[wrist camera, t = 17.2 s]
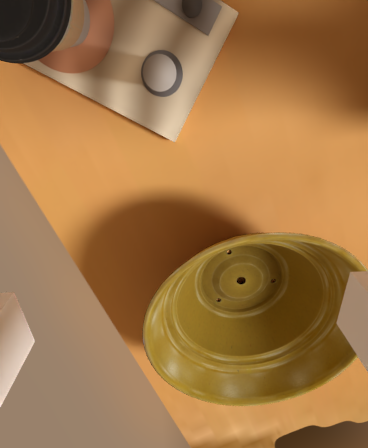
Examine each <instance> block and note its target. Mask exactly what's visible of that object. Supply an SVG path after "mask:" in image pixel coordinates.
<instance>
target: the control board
mask: <svg viewBox="0 0 368 448" xmlns="http://www.w3.org/2000/svg"><path fill="white" fill-rule="evenodd" d="M85 1H86V3H87V6H88V9H89V14H90V28H89V32H88V35H87V37H86V39H85V40H84V41H83V42H82V43H81V44H79V45H77V46H74V47H69V48H67V49H64V50H60V51H53V52H51V53H49V54H48V55H47V56H45V57H43V58H41V59H39V60H36V61H34V62H29V63H23V64H25V65H27V66H29V67H31V68H33V69H35V70H37V71H39V72H41V73H43V74H44V75H46V76H48V77H50V78H52V79H54V80H56V81H58V82H60V83H62V84H64V85H66V86H68V87H69V88H71V89H73V90H75V91H77V92H79V93H81V94H83V95H85V96H87V97H89V98H91V99H92V100H94V101H96V102H98V103H100V104H102V105H104V106H106V107H108V108H110V109H112V110H114V111H116V112H117V113H119V114H121V115H123V116H125V117H127V118H129V119H131V120H133V121H135V122H137V123H139V124H140V125H142V126H144V127H146V128H148V129H150V130H152V131H154V132H156V133H158V134H160V135H162V136H164V137H165V138H167V139H169V140H171V141H173V142H175V141H176V139H177V137H178V135H179V133H180V131H181V129H182V127H183V125H184V123H185V121H186V119H187V117H188V115H189V113H190V111H191V109H192V107H193V105H194V103H195V101H196V99H197V97H198V95H199V93H200V91H201V89H202V87H203V85H204V83H205V81H206V79H207V77H208V74H209V72H210V70H211V68H212V66H213V64H214V62H215V60H216V58H217V56H218V54H219V52H220V50H221V48H222V46H223V44H224V42H225V40H226V38H227V36H228V34H229V32H230V30H231V28H232V26H233V24H234V22H235V20H236V18H237V16H238V14H239V13H238V12H237V11H236V10H234V9H233V8H231V7H230V6H228V5H227V4H225V3H224V2H223V1H221V0H85Z"/></svg>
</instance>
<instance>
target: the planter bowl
mask: <svg viewBox="0 0 368 448" xmlns="http://www.w3.org/2000/svg"><path fill="white" fill-rule="evenodd" d="M227 250H231V251H232V253H231V254H227V253H226V252H227ZM361 271H368V270H367V268H366V267H365V266H364V265H363V264H362V263H361V262H360V261H359V260H358V259H357V258H356V257H355V256H354V255H352V254H351V253H350V252H348V251H347V250H345V249H344V248H342V247H340V246H338V245H336V244H334V243H332V242H329V241H327V240H324V239H321V238H318V237H313V236H309V235H304V234H295V233H254V234H247V235H241V236H236V237H233V238H230V239H227V240H224V241H221V242H218V243H216V244H214V245H212V246H210V247H208V248H206V249H204V250H202V251H201V252H199V253H198V254H196V255H195V256H193V257H192V258H191V259H190V260H188V261H187V262H185V263H184V264H182V265H181V266H180V267H179V268H177V269H176V270H175V271H174V272H173V273H172V274H171V275H170V276H169V277H168V278H167V279H166V280H165V281H164V282H163V283H162V284H161V286H160V287H159V289H158V290H157V291H156V293H155V295H154V296H153V298H152V300H151V302H150V304H149V306H148V308H147V311H146V314H145V318H144V323H143V344H144V348H145V352H146V354H147V357H148V359H149V361H150V363H151V365H152V366H153V368H154V369H155V371H156V372H157V373H158V374H159V375H160V376H161V377H162V378H163V379H164V380H165V381H166V382H167V383H168V384H170V385H171V386H172V387H174V388H175V389H177V390H179V391H180V392H182V393H184V394H186V395H189V396H191V397H193V398H196V399H199V400H202V401H206V402H210V403H215V404H220V405H229V406H256V405H265V404H271V403H276V402H281V401H285V400H288V399H292V398H295V397H297V396H300V395H303V394H305V393H308V392H310V391H312V390H315V389H317V388H319V387H320V386H322V385H324V384H326V383H327V382H329V381H331V380H332V379H334V378H335V377H337V376H338V375H339V374H341V373H342V372H343V371H344V370H345V369H347V368H348V367H349V366H350V365H351V364H352V363H353V362H354V361H355V360H356V359H357V358H358V356H357V354H356V353H355V351H354V350H353V348H352V347H351V345H350V344H349V342H348V340H347V339H346V337H345V336H344V334H343V333H342V331H341V330H340V328H339V327H338V325H337V319H338V315H339V312H340V308H341V304H342V300H343V297H344V293H345V289H346V286H347V282H348V278H349V275H350V272H361ZM239 277H244V278H245V280H246V282H245V283H244V284H238V283H237V279H238V278H239ZM272 279H275V280H276V281H275V282H274V283H272V282H271V280H272ZM217 298H220V299H221V301H220V302H217V301H216V299H217Z"/></svg>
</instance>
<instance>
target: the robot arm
mask: <svg viewBox="0 0 368 448" xmlns="http://www.w3.org/2000/svg"><path fill="white" fill-rule="evenodd" d="M337 325H338V327H339V328H340V330H341V331H342V333H343V334H344V336H345V337H346V339H347V340H348V342H349V344H350V345H351V347H352V348H353V350H354V351H355V353H356V354H357V356H358V357H359V359H360V361H361V362H362V364H363V365H364V367H365V368H366V370H367V371H368V271H361V272H350V275H349V278H348V282H347V286H346V289H345V293H344V297H343V300H342V304H341V308H340V312H339V315H338V319H337ZM34 342H35V340H34V337H33V335H32V333H31V330H30V328H29V326H28V323H27V321H26V319H25V316H24V314H23V312H22V309H21V307H20V305H19V302H18V300H17V298H16V295H15V293H14V292H6V293H0V407H1V405H2V403H3V401H4V399H5V397H6V395H7V393H8V392H9V390H10V388H11V386H12V384H13V382H14V380H15V378H16V376H17V374H18V372H19V371H20V369H21V366H22V365H23V363H24V361H25V359H26V357H27V355H28V353H29V352H30V350H31V348H32V346H33V344H34Z"/></svg>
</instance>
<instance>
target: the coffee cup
mask: <svg viewBox="0 0 368 448" xmlns="http://www.w3.org/2000/svg"><path fill="white" fill-rule="evenodd" d="M89 28H90V14H89V9H88V6H87V3H86V1H85V0H0V60H1V61H5V62H10V63H29V62H34V61H36V60H39V59H41V58H43V57H45V56H47V55H48V54H49V53H51V52H53V51H60V50H64V49H67V48H69V47H74V46H77V45H79V44H81V43H82V42H83V41H84V40H85V39H86V37H87V35H88V32H89Z"/></svg>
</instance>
